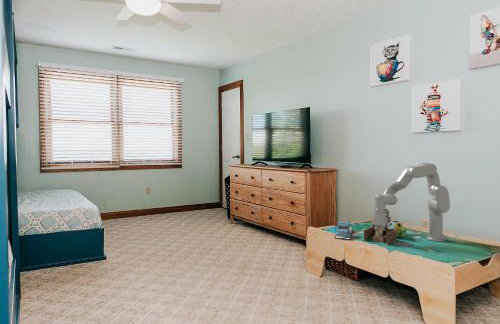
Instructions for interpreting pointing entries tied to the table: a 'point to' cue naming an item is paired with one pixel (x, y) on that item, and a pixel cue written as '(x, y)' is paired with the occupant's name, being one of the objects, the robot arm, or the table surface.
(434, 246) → the table surface
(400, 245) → the mat
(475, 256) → the table surface
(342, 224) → the truck
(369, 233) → the slot stand
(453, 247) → the table surface
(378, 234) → the maple block
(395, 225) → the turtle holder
